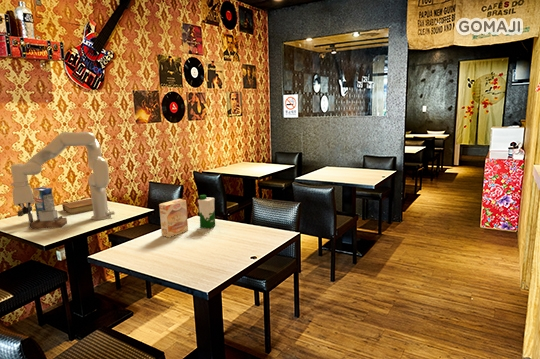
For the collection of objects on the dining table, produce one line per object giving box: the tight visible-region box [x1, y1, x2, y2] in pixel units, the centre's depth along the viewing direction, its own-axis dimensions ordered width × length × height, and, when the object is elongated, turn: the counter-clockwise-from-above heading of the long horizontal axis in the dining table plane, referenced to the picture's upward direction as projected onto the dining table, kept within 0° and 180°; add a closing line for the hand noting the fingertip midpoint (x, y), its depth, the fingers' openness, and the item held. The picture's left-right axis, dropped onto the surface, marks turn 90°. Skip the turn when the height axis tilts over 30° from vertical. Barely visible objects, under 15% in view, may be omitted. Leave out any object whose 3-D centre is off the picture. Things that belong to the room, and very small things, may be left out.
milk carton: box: [197, 194, 216, 229], centre depth 238 cm, size 9×9×20 cm
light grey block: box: [39, 209, 59, 222], centre depth 247 cm, size 9×5×7 cm, turn 96°
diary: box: [62, 198, 93, 216], centre depth 286 cm, size 23×19×6 cm
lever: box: [16, 204, 33, 217], centre depth 238 cm, size 16×3×3 cm, turn 11°
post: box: [27, 209, 34, 229], centre depth 246 cm, size 4×4×11 cm
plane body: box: [31, 215, 68, 230], centre depth 248 cm, size 18×9×5 cm, turn 96°
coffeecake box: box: [158, 198, 189, 238], centre depth 227 cm, size 15×7×20 cm, turn 143°
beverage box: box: [32, 186, 56, 220], centre depth 261 cm, size 7×11×22 cm, turn 61°
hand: (26, 213), depth 233 cm, fingers closed
